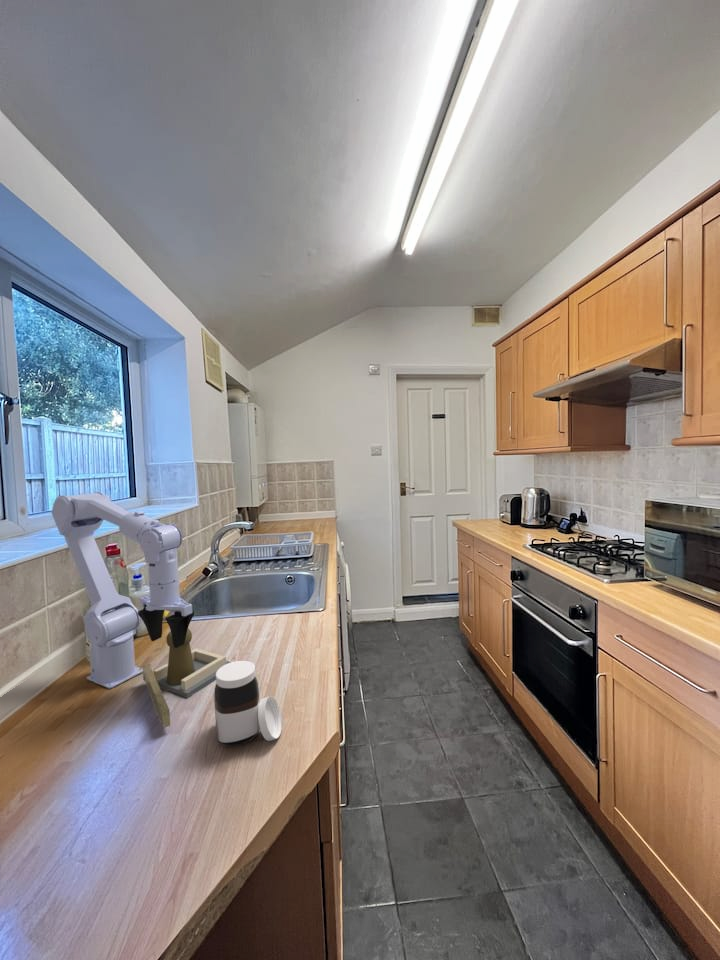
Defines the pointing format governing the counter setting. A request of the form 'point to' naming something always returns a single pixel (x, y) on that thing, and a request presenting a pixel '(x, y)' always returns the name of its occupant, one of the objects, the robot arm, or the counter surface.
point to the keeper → (156, 696)
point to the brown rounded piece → (179, 660)
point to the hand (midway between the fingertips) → (167, 642)
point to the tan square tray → (202, 676)
